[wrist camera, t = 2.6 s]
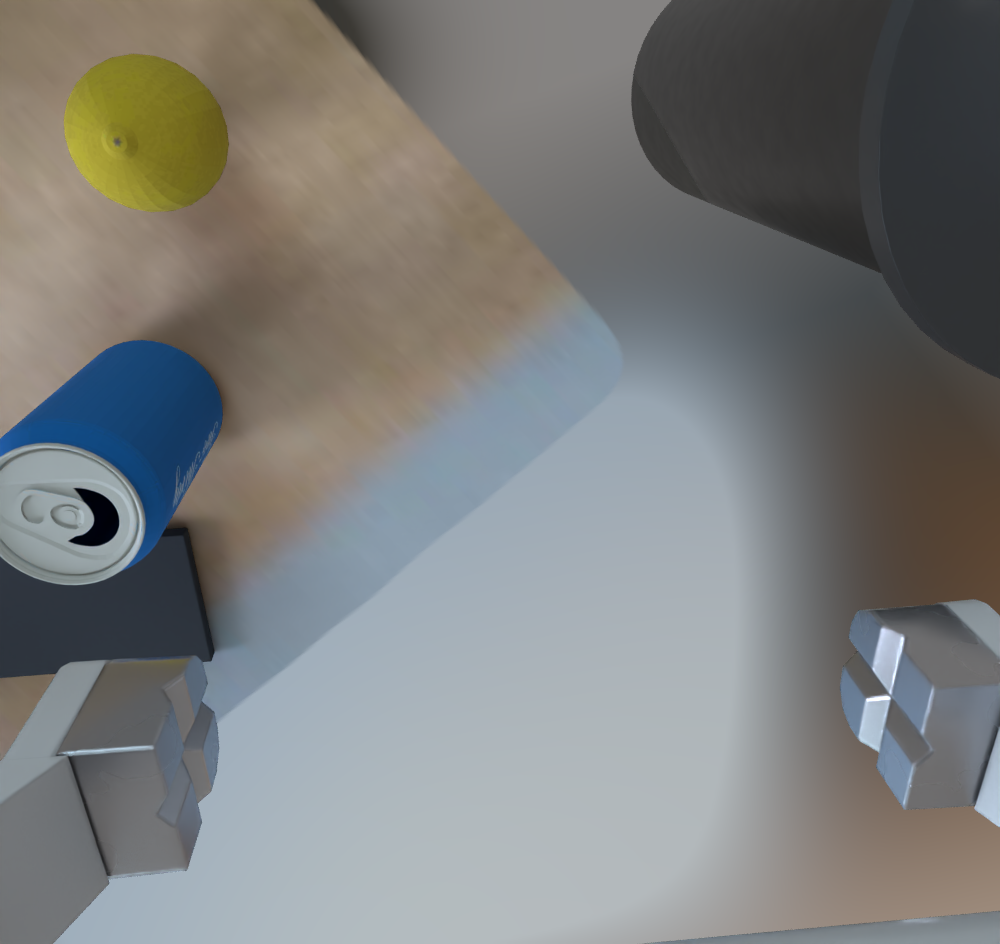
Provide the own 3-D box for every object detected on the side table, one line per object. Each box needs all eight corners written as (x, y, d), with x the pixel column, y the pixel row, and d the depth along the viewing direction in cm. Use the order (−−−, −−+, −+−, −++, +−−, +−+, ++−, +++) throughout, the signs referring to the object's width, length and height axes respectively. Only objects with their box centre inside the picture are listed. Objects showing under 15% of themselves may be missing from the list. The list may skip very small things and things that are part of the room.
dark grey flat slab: (187, 527, 43) (183, 535, 42) (214, 652, 46) (211, 661, 46) (-220, 555, 42) (-231, 563, 41) (-161, 682, 45) (-171, 692, 44)
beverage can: (215, 474, 42) (144, 610, 31) (80, 445, 41) (-43, 576, 30) (236, 355, 40) (167, 457, 29) (93, 319, 38) (-35, 412, 27)
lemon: (220, 219, 37) (172, 253, 30) (93, 161, 35) (10, 181, 28) (263, 97, 35) (223, 101, 28) (131, 30, 34) (52, 16, 26)
